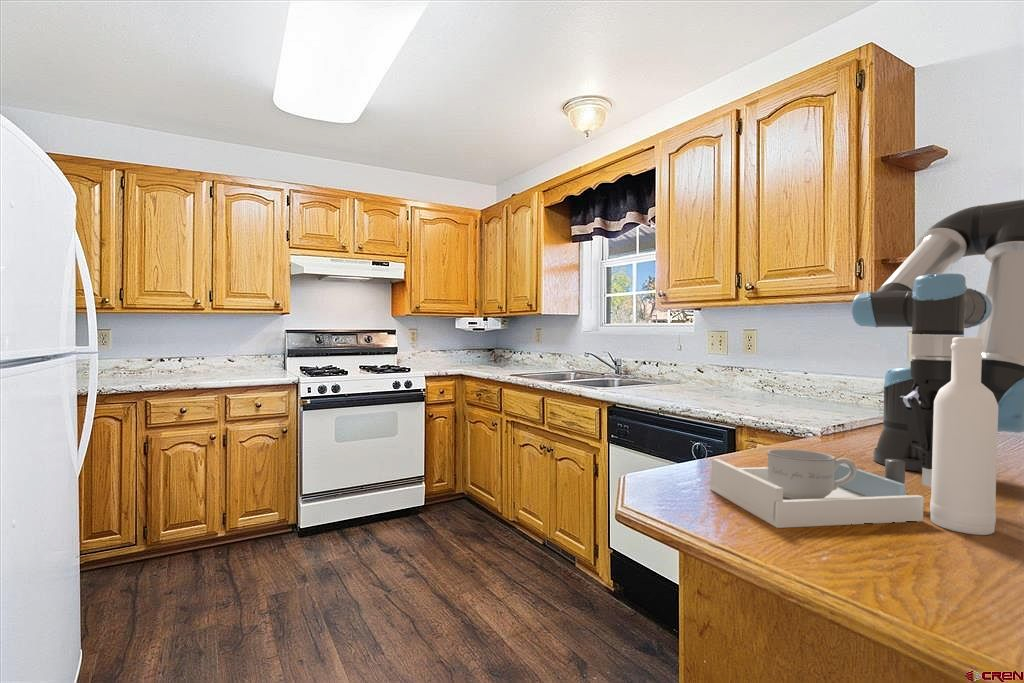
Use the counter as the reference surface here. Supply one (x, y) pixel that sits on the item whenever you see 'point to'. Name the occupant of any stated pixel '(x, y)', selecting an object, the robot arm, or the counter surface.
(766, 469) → the tray
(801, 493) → the teacup
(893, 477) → the blue-grey panel and knob
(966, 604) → the counter surface
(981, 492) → the bottle
